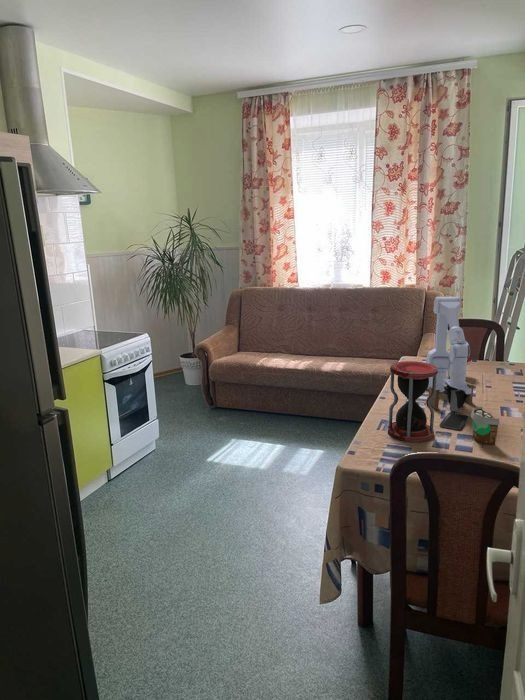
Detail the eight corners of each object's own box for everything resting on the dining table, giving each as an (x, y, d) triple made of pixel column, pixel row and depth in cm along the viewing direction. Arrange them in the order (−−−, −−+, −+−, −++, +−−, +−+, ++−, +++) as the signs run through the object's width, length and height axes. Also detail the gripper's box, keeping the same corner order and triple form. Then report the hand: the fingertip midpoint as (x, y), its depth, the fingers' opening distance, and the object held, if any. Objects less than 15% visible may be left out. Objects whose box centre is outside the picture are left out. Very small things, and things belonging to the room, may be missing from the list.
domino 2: (457, 412, 204) (459, 393, 202) (449, 408, 209) (451, 390, 207) (460, 412, 205) (462, 393, 203) (453, 408, 209) (454, 389, 207)
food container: (462, 433, 185) (464, 407, 182) (479, 432, 185) (481, 406, 183) (479, 447, 173) (482, 420, 170) (497, 446, 173) (500, 419, 171)
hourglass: (390, 422, 196) (393, 359, 190) (435, 427, 190) (439, 362, 184) (384, 438, 182) (387, 371, 175) (432, 445, 176) (436, 375, 170)
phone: (438, 424, 191) (449, 412, 203) (438, 427, 191) (448, 414, 203) (461, 429, 186) (470, 415, 199) (460, 431, 187) (469, 418, 199)
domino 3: (468, 403, 214) (470, 385, 212) (461, 399, 218) (462, 382, 216) (472, 403, 214) (473, 384, 212) (464, 399, 219) (465, 381, 217)
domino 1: (434, 408, 209) (436, 389, 207) (427, 404, 213) (429, 386, 212) (438, 408, 209) (439, 389, 208) (431, 404, 214) (432, 386, 212)
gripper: (479, 377, 197) (476, 410, 200) (454, 367, 211) (452, 398, 214) (463, 379, 195) (461, 412, 198) (440, 369, 209) (438, 400, 212)
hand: (455, 405), depth 206 cm, fingers closed on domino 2, 5 cm apart
